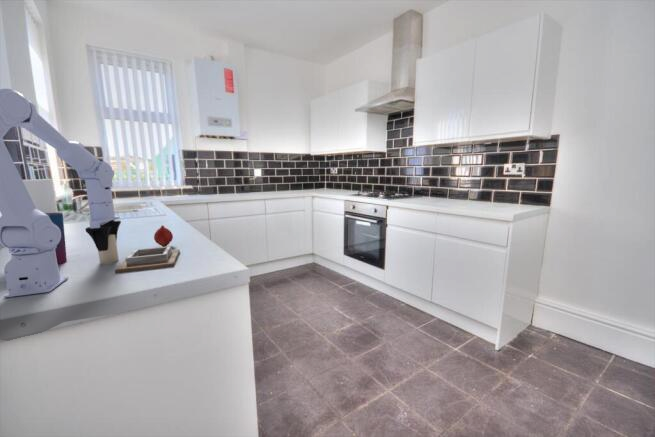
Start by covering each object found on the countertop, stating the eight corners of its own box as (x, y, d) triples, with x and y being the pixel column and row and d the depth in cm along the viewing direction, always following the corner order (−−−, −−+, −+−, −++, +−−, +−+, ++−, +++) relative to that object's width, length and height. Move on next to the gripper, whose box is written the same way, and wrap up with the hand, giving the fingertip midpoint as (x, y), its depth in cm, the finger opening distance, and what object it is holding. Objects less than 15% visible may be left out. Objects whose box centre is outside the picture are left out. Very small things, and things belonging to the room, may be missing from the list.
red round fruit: (151, 247, 103) (149, 226, 102) (167, 244, 109) (164, 223, 107) (161, 249, 101) (159, 227, 100) (177, 245, 106) (174, 224, 105)
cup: (76, 259, 90) (68, 212, 88) (54, 266, 84) (45, 215, 81) (57, 259, 91) (48, 212, 89) (33, 266, 84) (23, 215, 82)
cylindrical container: (46, 260, 90) (31, 179, 86) (28, 259, 91) (13, 180, 87) (70, 254, 97) (58, 179, 93) (54, 253, 98) (40, 179, 94)
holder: (173, 266, 83) (172, 256, 82) (115, 273, 78) (113, 262, 77) (179, 252, 98) (178, 243, 97) (131, 256, 93) (130, 247, 92)
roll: (116, 262, 87) (112, 236, 86) (97, 264, 85) (93, 238, 84) (120, 258, 91) (117, 233, 90) (103, 260, 89) (99, 235, 88)
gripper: (108, 204, 80) (115, 252, 82) (124, 199, 93) (129, 240, 96) (77, 206, 77) (85, 254, 80) (97, 200, 91) (104, 242, 93)
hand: (107, 247), depth 87 cm, fingers open, 7 cm apart
